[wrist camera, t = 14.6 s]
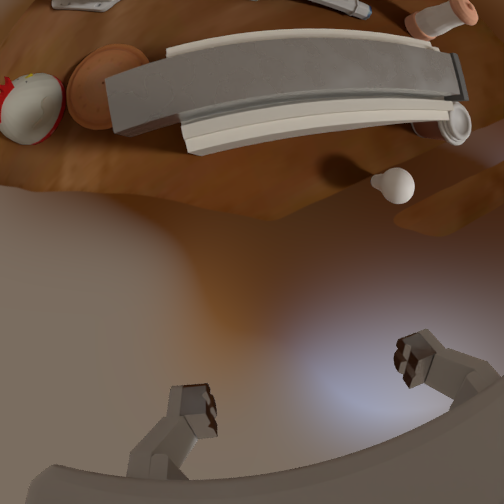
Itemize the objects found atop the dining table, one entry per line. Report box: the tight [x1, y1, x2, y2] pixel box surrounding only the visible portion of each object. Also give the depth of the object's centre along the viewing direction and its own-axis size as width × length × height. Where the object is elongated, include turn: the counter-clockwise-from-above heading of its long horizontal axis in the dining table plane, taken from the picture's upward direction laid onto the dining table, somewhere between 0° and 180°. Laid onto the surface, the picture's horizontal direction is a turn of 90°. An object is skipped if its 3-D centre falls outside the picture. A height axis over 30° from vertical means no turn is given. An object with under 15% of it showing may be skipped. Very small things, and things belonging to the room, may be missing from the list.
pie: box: [66, 44, 149, 130], centre depth 36 cm, size 15×16×5 cm
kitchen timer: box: [0, 73, 66, 145], centre depth 29 cm, size 14×14×15 cm
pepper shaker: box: [405, 0, 478, 41], centre depth 30 cm, size 7×7×19 cm
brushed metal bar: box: [105, 38, 460, 137], centre depth 17 cm, size 28×4×4 cm, turn 102°
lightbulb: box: [371, 168, 415, 204], centre depth 45 cm, size 6×6×11 cm
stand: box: [166, 29, 469, 156], centre depth 30 cm, size 27×9×29 cm, turn 102°
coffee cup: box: [411, 102, 471, 145], centre depth 41 cm, size 9×9×12 cm
